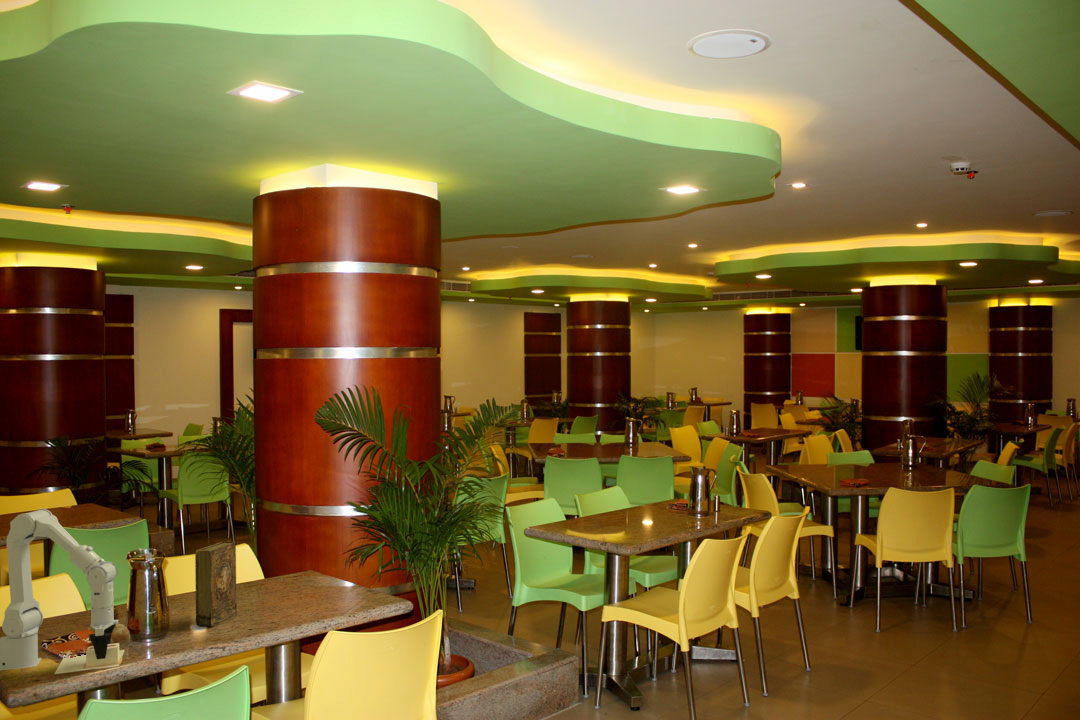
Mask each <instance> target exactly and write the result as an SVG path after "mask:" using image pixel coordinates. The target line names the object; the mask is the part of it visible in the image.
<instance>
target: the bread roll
mask: <svg viewBox="0 0 1080 720" xmlns="http://www.w3.org/2000/svg"><path fill="white" fill-rule="evenodd" d="M130 640H131V634H130V630H129V629H128V627H126V626H125V625H124V624H122V623H119V622H118V623H117V624H116V625H115V627H114V629H113V632H112V636H111V641H110V644H114V643H119V646H120V645H123V644H126V643H128V642H130Z"/></svg>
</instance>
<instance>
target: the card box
mask: <svg viewBox="0 0 1080 720" xmlns="http://www.w3.org/2000/svg"><path fill="white" fill-rule="evenodd" d="M119 650H120V645H119V643H114V644H108V646H107V653H106V657H105V659H97V658H96V655H95V650H94V646H93V645H91V646H88V647H87V649H86V650H85V654H86V667H93V666H101V665H109V664H116V663H118V662H119Z"/></svg>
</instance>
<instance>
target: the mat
mask: <svg viewBox="0 0 1080 720" xmlns="http://www.w3.org/2000/svg"><path fill="white" fill-rule="evenodd" d="M124 653H125V649H119V662H118V663H116V664H109V665H101V666H93V667H86V655H84V654H80V655H81V656H76V655H75V656H76V657H73V658H64V657H63V658H62V660H61V662H60V663H59V664H58V667H57V668H56V670H55V672H54V675H59V674H64V673H65V674H67V673H75V672H82V671H90V670H97V669H98V670H99V669H107V668H117V667H119V666H120V665H121V664H122V661H123V659H124V658H123V656H124Z"/></svg>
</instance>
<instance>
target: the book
mask: <svg viewBox="0 0 1080 720" xmlns="http://www.w3.org/2000/svg"><path fill="white" fill-rule="evenodd" d="M236 544H237V542H236V541H229V540H228V541H220V542H216V543H214V544H211V545H209V546H205V547H203V548H199V549H196V551H195V554H194V555H195V556H194V559H195V562H194V563H195V570H194V571H195V624H196V627H211V628H213V627H216V626H218V625H221V624H222V623H224V622H227V621H228V620H230V619H232V618H234V617H236V616H237V615H238V614H237V613H238V612H237V611H238V610H237V608H238V607H237V562H236V560H237V549H236V548H237V547H236V546H237V545H236Z"/></svg>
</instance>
